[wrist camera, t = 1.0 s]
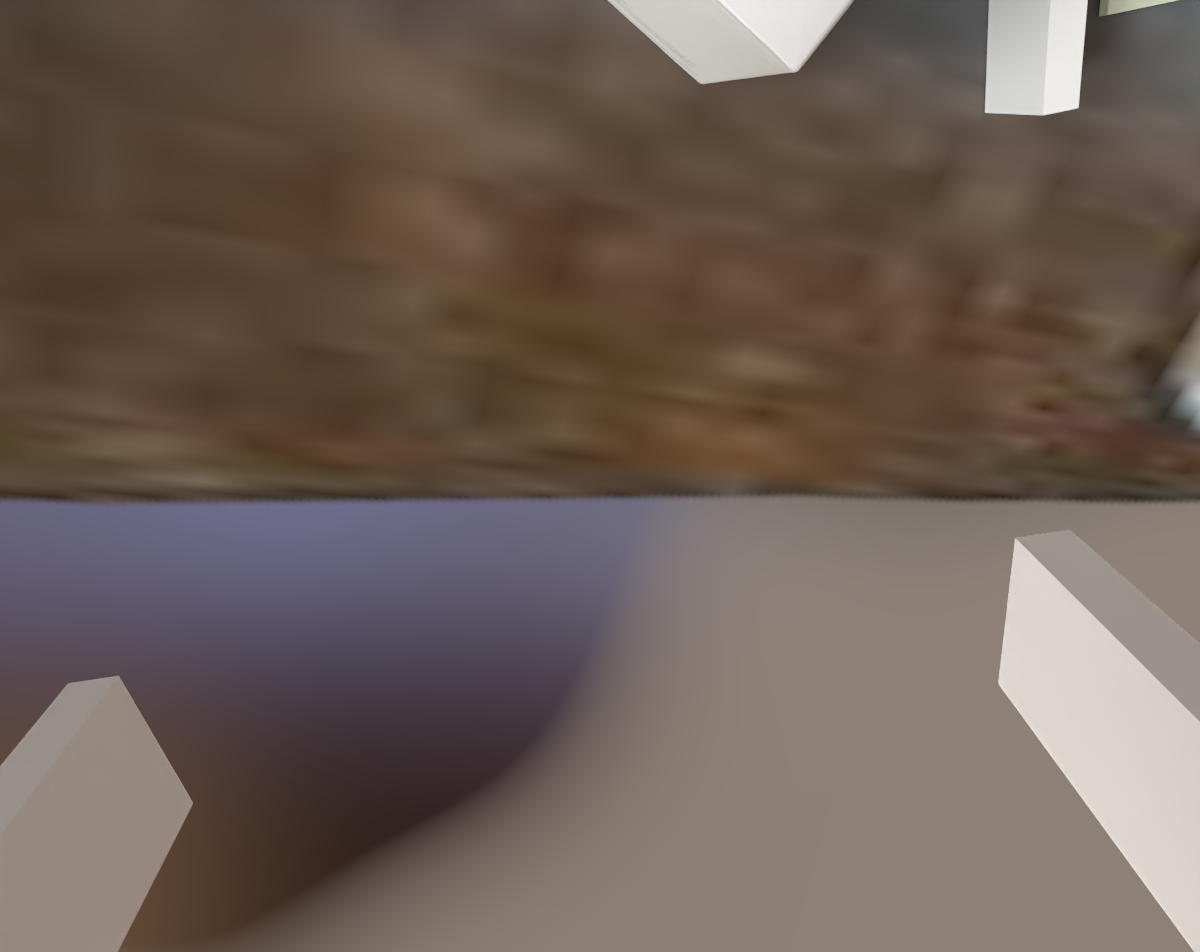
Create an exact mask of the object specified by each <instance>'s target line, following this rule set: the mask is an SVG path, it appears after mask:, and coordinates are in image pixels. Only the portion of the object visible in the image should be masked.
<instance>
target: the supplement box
mask: <svg viewBox="0 0 1200 952" xmlns="http://www.w3.org/2000/svg"><path fill="white" fill-rule="evenodd" d="M608 1H609V2H610V3H611V4H612V5H613V6H614V7H616V8H617V9H618V10H619V11H620V12H621V13H622V14H623V15H624V16H625V17H626V18H628V19H629V20H630V21H631V22H632V23H633V24H634V25H635V26H636V27H638V28H639V29H640V30H641V31H642V32H643V33H644V34H645V35H646V36H648V37H649V38H650V39H651V40H652V41H653V42H654V43H655V44H656V45H658V46H659V47H660V48H661V49H662V50H663V51H664V52H665V53H666V54H667V55H669V56H670V57H671V58H672V59H673V60H674V61H675V62H676V63H677V64H679V65H680V66H681V67H682V68H683V69H684V70H685V71H686V72H688V73H689V74H690V75H691V76H692V77H693V78H694V79H696V80H697V81H698V82H699V83H701V84H707V83H716V82H722V81H729V80H737V79H745V78H753V77H760V76H766V75H775V74H782V73H792V72H797V71H798V70H799V69H800V68H801V67H802V66H803V65H804V63H805V62H806V61H807V60H808V59H809V57H810V56H811V55H812V54H813V52H814V51H815V50H816V49H817V47H818V46H819V45H820V44H821V42H822V41H823V40H824V39H825V37H826V36H827V35H828V34H829V32H830V31H831V30H832V28H833V27H834V26H835V24H836V23H837V22H838V21H839V19H840V18H841V17H842V16H843V14H844V13H845V12H846V10H847V9H848V8H849V6H850V5H851V4H852V2H853V1H854V0H608Z"/></svg>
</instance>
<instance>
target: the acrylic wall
mask: <svg viewBox="0 0 1200 952" xmlns="http://www.w3.org/2000/svg"><path fill="white" fill-rule="evenodd" d="M1087 3H1088V0H989V13H988V41H987V68H986V96H985V113H1000V114H1022V115H1047V114H1052V113H1057V112H1062V111H1067V110H1072V109H1076V108H1078V107H1079V96H1080V84H1081V72H1082V61H1083V49H1084V38H1085V26H1086V15H1087Z"/></svg>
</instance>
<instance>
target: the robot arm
mask: <svg viewBox="0 0 1200 952" xmlns="http://www.w3.org/2000/svg"><path fill="white" fill-rule="evenodd" d="M998 684H999V685H1000V687H1001V688H1002V689H1003V691H1004V692H1005V694H1006V695H1007V696H1008V698H1009V699H1010V700H1011V702H1012V703H1013V705H1014V706H1015V707H1016V709H1017V710H1018V711H1019V713H1020V714H1021V716H1022V717H1023V718H1024V720H1025V721H1026V722H1027V724H1028V725H1029V726H1030V728H1031V729H1032V731H1033V732H1034V733H1035V735H1036V736H1037V737H1038V739H1039V740H1040V742H1041V743H1042V744H1043V746H1044V747H1045V748H1046V750H1047V751H1048V752H1049V754H1050V755H1051V757H1052V758H1053V759H1054V761H1055V762H1056V763H1057V765H1058V766H1059V767H1060V769H1061V770H1062V772H1063V773H1064V774H1065V776H1066V777H1067V778H1068V780H1069V781H1070V783H1071V784H1072V785H1073V787H1074V788H1075V789H1076V791H1077V792H1078V794H1079V795H1080V796H1081V797H1082V799H1083V800H1084V802H1085V803H1086V804H1087V806H1088V807H1089V809H1090V810H1091V811H1092V813H1093V814H1094V815H1095V817H1096V818H1097V819H1098V821H1099V822H1100V824H1101V825H1102V826H1103V828H1104V829H1105V830H1106V832H1107V833H1108V835H1109V836H1110V837H1111V839H1112V840H1113V841H1114V843H1115V844H1116V846H1117V847H1118V848H1119V850H1120V851H1121V852H1122V854H1123V855H1124V856H1125V858H1126V859H1127V860H1128V862H1129V863H1130V865H1131V866H1132V867H1133V869H1134V870H1135V872H1136V873H1137V874H1138V876H1139V877H1140V878H1141V880H1142V881H1143V882H1144V884H1145V885H1146V887H1147V888H1148V889H1149V891H1150V892H1151V893H1152V895H1153V896H1154V898H1155V899H1156V900H1157V902H1158V903H1159V904H1160V906H1161V907H1162V908H1163V910H1164V911H1165V913H1166V914H1167V915H1168V917H1169V918H1170V919H1171V921H1172V922H1173V923H1174V925H1175V926H1176V928H1177V929H1178V930H1179V932H1180V933H1181V934H1182V936H1183V937H1184V939H1185V940H1186V941H1187V943H1188V944H1189V945H1190V947H1191V948H1192V949H1193V951H1194V952H1200V643H1199V642H1197V641H1196V640H1195V639H1194V638H1193V637H1192V636H1191V635H1189V634H1188V633H1187V632H1186V631H1185V630H1184V629H1182V628H1181V627H1180V626H1179V625H1178V624H1177V623H1176V622H1175V621H1173V620H1172V619H1171V618H1170V617H1169V616H1168V615H1166V614H1165V613H1164V612H1163V611H1162V610H1161V609H1160V608H1159V607H1157V606H1156V605H1155V604H1154V603H1153V602H1152V601H1151V600H1149V599H1148V598H1147V597H1146V596H1145V595H1144V594H1142V593H1141V592H1140V591H1139V590H1138V589H1137V588H1136V587H1134V586H1133V585H1132V584H1131V583H1130V582H1129V581H1128V580H1127V579H1125V578H1124V577H1123V576H1122V575H1121V574H1120V573H1119V572H1117V571H1116V570H1115V569H1114V568H1113V567H1112V566H1111V565H1109V564H1108V563H1107V562H1106V561H1105V560H1103V558H1101V557H1100V556H1099V555H1098V554H1097V553H1096V552H1095V551H1093V550H1092V549H1091V548H1090V547H1089V546H1088V545H1087V544H1085V543H1084V542H1083V541H1082V540H1081V539H1080V538H1078V537H1077V536H1076V535H1075V534H1074V533H1073V532H1072V531H1071V530H1064V531H1057V532H1051V533H1044V534H1038V535H1031V536H1025V537H1019V538H1015V545H1014V553H1013V563H1012V571H1011V579H1010V588H1009V596H1008V606H1007V613H1006V622H1005V630H1004V639H1003V648H1002V656H1001V664H1000V673H999V682H998ZM192 804H193V802H192V800H191V799H190V797H189V795H188V794H187V792H186V790H185V789H184V787H183V785H182V783H181V782H180V780H179V778H178V777H177V775H176V773H175V771H174V770H173V768H172V766H171V764H170V763H169V761H168V759H167V758H166V756H165V754H164V753H163V751H162V749H161V747H160V746H159V744H158V742H157V741H156V739H155V737H154V735H153V734H152V732H151V730H150V729H149V727H148V725H147V724H146V722H145V720H144V718H143V717H142V715H141V713H140V711H139V710H138V708H137V706H136V705H135V703H134V701H133V699H132V698H131V696H130V694H129V693H128V691H127V689H126V688H125V686H124V684H123V682H122V681H121V679H120V677H119V676H114V677H107V678H101V679H94V680H88V681H81V682H75V683H69V684H67V685H66V687H65V688H64V689H63V690H62V692H61V693H60V694H59V695H58V697H57V698H56V699H55V700H54V701H53V703H52V704H51V705H50V706H49V707H48V709H47V710H46V711H45V712H44V714H43V715H42V716H41V717H40V718H39V720H38V721H37V722H36V723H35V725H34V726H33V727H32V728H31V730H30V731H29V732H28V733H27V735H26V736H25V737H24V738H23V739H22V741H21V742H20V743H19V744H18V745H17V747H16V748H15V749H14V750H13V751H12V753H11V754H10V755H9V756H8V758H7V759H6V760H5V761H4V762H3V764H2V765H1V766H0V952H118V950H119V948H120V946H121V944H122V942H123V940H124V938H125V936H126V934H127V932H128V930H129V928H130V926H131V924H132V922H133V920H134V918H135V916H136V914H137V912H138V910H139V909H140V907H141V905H142V903H143V901H144V899H145V897H146V895H147V893H148V891H149V889H150V887H151V885H152V883H153V881H154V879H155V877H156V875H157V873H158V871H159V869H160V867H161V865H162V863H163V861H164V859H165V857H166V856H167V854H168V852H169V850H170V848H171V846H172V844H173V842H174V840H175V838H176V836H177V834H178V832H179V830H180V828H181V826H182V824H183V822H184V820H185V818H186V816H187V814H188V812H189V810H190V808H191V806H192Z"/></svg>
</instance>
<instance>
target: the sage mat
mask: <svg viewBox="0 0 1200 952" xmlns="http://www.w3.org/2000/svg"><path fill="white" fill-rule="evenodd" d="M1173 1H1177V0H1100V10H1099V16H1105V15H1111V14H1115V13H1120V12H1125V11H1130V10H1134V9H1139V8H1144V7H1149V6H1153V5H1158V4H1163V3H1168V2H1173Z"/></svg>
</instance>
